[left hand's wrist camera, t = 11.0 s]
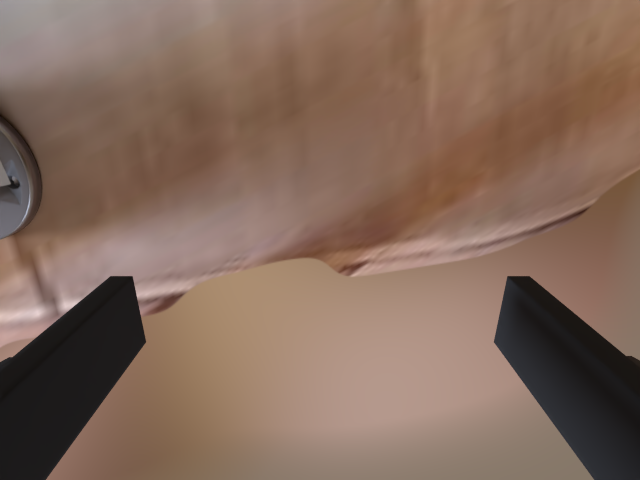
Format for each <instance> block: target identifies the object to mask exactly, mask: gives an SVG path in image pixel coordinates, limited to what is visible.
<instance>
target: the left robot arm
mask: <svg viewBox="0 0 640 480" xmlns="http://www.w3.org/2000/svg"><path fill="white" fill-rule="evenodd" d="M41 193H42V186H41V178H40V173H39V170H38V166H37V164H36V161H35V159H34V156H33V155H32V153H31V151H30V149H29V147H28V146H27V144H26V143H25V141H24V140H23V138H22V137H21V136H20V135H19V133H18V132H17V131H16V130H15V129H14V128H13V127H12V126H11V125H10V124H9V123H8V122H7V121H6V120H5V119H3V118H2V117H1V116H0V239H3V238H5V237H7V236H10V235H12V234H14V233H16V232H18V231H20V230H22V229H23V228H24V227H26V226H27V225H28V224H29V223H30V222H31V221H32V219H33V218H34V216H35V215H36V213H37V211H38V208H39V205H40V201H41ZM145 343H146V340H145V335H144V330H143V325H142V320H141V315H140V310H139V306H138V301H137V296H136V291H135V286H134V281H133V276H110V277H109V278H108V279H107V280H106V281H104V282H103V283H102V284H101V285H99V286H98V287H97V288H96V289H95V290H93V291H92V292H91V293H90V294H89V295H87V296H86V297H85V298H84V299H83V300H81V301H80V302H79V303H78V304H76V305H75V306H74V307H73V308H72V309H70V310H69V311H68V312H67V313H66V314H64V315H63V316H62V317H61V318H60V319H58V320H57V321H56V322H55V323H53V324H52V325H51V326H50V327H49V328H47V329H46V330H45V331H44V332H43V333H41V334H40V335H39V336H38V337H37V338H35V339H34V340H33V341H32V342H30V343H29V344H28V345H27V346H26V347H24V348H23V349H22V350H21V351H20V352H18V353H17V354H16V355H15V356H14V357H9V358H7V359H5V360H3V361H2V362H0V480H46V479H47V477H48V476H49V474H50V473H51V472H52V470H53V469H54V468H55V466H56V465H57V463H58V462H59V461H60V459H61V458H62V457H63V455H64V454H65V452H66V451H67V450H68V448H69V447H70V445H71V444H72V443H73V441H74V440H75V439H76V437H77V436H78V435H79V433H80V432H81V431H82V429H83V428H84V426H85V425H86V424H87V422H88V421H89V420H90V418H91V417H92V415H93V414H94V413H95V411H96V410H97V409H98V407H99V406H100V404H101V403H102V402H103V400H104V399H105V398H106V396H107V395H108V393H109V392H110V391H111V389H112V388H113V387H114V385H115V384H116V382H117V381H118V380H119V378H120V377H121V376H122V374H123V373H124V372H125V370H126V369H127V367H128V366H129V365H130V363H131V362H132V360H133V359H134V358H135V356H136V355H137V354H138V352H139V351H140V350H141V348H142V347H143V345H144V344H145ZM494 343H495V344H496V345H497V347H498V348H499V350H500V351H501V352H502V354H503V355H504V356H505V358H506V359H507V360H508V362H509V363H510V365H511V366H512V367H513V369H514V370H515V372H516V373H517V374H518V376H519V377H520V378H521V380H522V381H523V383H524V384H525V385H526V387H527V388H528V389H529V391H530V392H531V394H532V395H533V396H534V398H535V399H536V400H537V402H538V403H539V404H540V406H541V407H542V409H543V410H544V411H545V413H546V414H547V415H548V417H549V418H550V420H551V421H552V422H553V424H554V425H555V426H556V428H557V429H558V430H559V432H560V433H561V435H562V436H563V437H564V439H565V440H566V442H567V443H568V444H569V446H570V447H571V448H572V450H573V451H574V452H575V454H576V455H577V457H578V458H579V459H580V461H581V462H582V463H583V465H584V466H585V468H586V469H587V470H588V472H589V473H590V474H591V476H592V477H593V479H594V480H640V361H639V360H638V359H636V358H634V357H632V356H625V355H624V354H623V353H622V352H620V351H619V350H618V349H617V348H616V347H614V346H613V345H612V344H611V343H610V342H608V341H607V340H606V339H605V338H603V337H602V336H601V335H600V334H599V333H597V332H596V331H595V330H594V329H593V328H591V327H590V326H589V325H588V324H586V323H585V322H584V321H583V320H582V319H580V318H579V317H578V316H577V315H576V314H574V313H573V312H572V311H571V310H570V309H568V308H567V307H566V306H565V305H564V304H562V303H561V302H560V301H559V300H557V299H556V298H555V297H554V296H553V295H551V294H550V293H549V292H548V291H547V290H545V289H544V288H543V287H542V286H541V285H539V284H538V283H537V282H536V281H534V280H533V279H532V278H531V277H530V276H508V277H507V281H506V286H505V291H504V296H503V301H502V306H501V311H500V315H499V320H498V325H497V330H496V335H495V339H494Z"/></svg>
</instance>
